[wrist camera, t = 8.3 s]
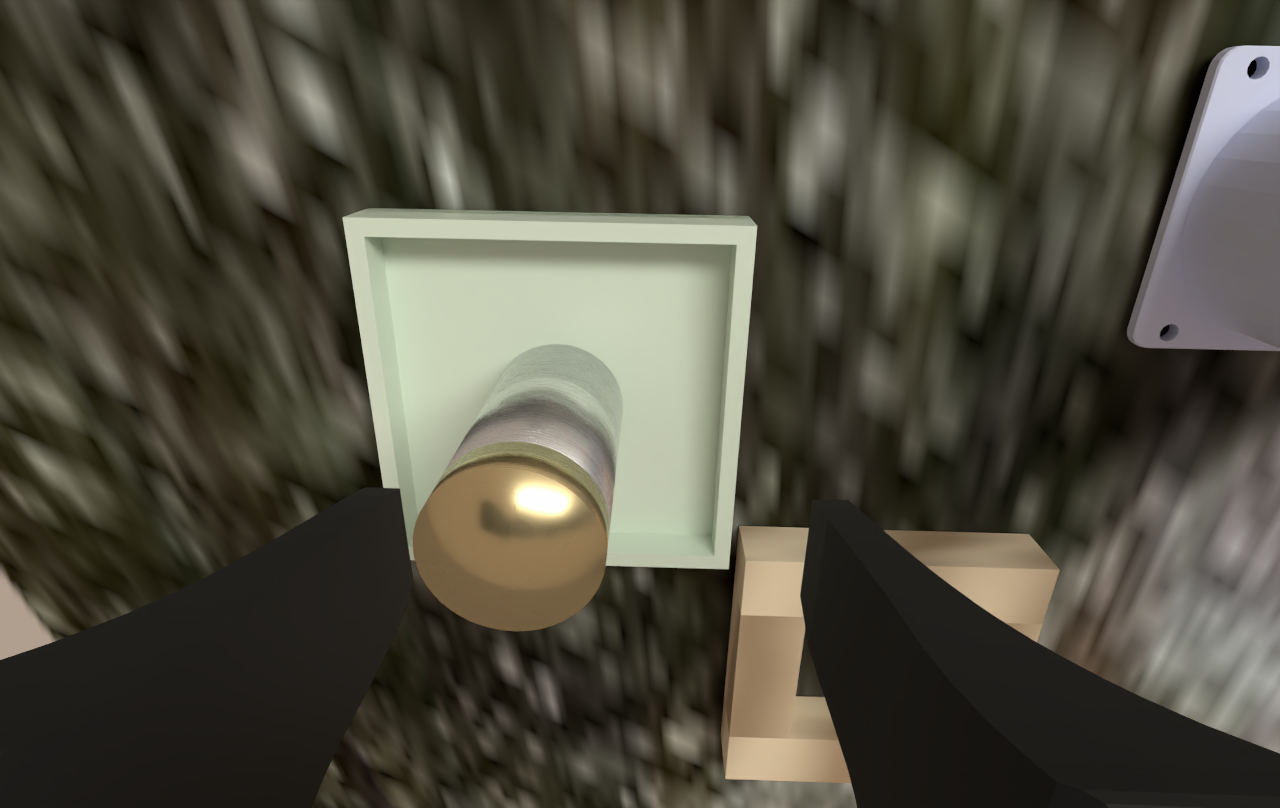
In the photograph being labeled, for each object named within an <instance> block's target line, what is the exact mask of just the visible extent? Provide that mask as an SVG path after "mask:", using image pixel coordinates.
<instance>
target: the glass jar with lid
mask: <svg viewBox="0 0 1280 808" xmlns="http://www.w3.org/2000/svg"><path fill="white" fill-rule="evenodd" d="M622 413H623V400H622V394H621V390H620V387H619V385H618V382H617V380H616V378H615V377H614V375H613V373H612V372H611V371H610V369H609V368H608V367H607V366H606V365H605V364H604V363H603V362H602V361H601V360H600V359H598V358H597V357H596V356H594V355H592V354H591V353H589V352H587V351H585V350H583V349H580V348H577V347H574V346H570V345H564V344H548V345H542V346H538V347H535V348H532V349H529V350H527V351H526V352H524V353H522V354H520V355H519V356H518V357H516V358H515V359H514V360H513V361H512V362H511V363H510V364H509V365H508V366H507V368H506V369H505V370H504V372H503V374H502V375H501V377H500V379H499V380H498V382H497V384H496V385H495V387H494V389H493V390H492V392H491V394H490V395H489V397H488V399H487V401H486V402H485V404H484V406H483V407H482V409H481V411H480V412H479V414H478V416H477V417H476V419H475V421H474V422H473V424H472V426H471V427H470V429H469V431H468V432H467V434H466V436H465V437H464V439H463V441H462V442H461V444H460V446H459V447H458V449H457V451H456V452H455V454H454V456H453V458H452V459H451V461H450V463H449V464H448V466H447V468H446V469H445V471H444V473H443V474H442V476H441V478H440V479H439V481H438V483H437V484H436V486H435V488H434V489H433V491H432V493H431V494H430V496H429V498H428V499H427V501H426V503H425V504H424V506H423V508H422V510H421V511H420V513H419V515H418V518H417V520H416V523H415V527H414V532H413V554H414V558H415V562H416V566H417V568H418V571H419V573H420V576H421V577H422V579H423V581H424V582H425V584H426V586H427V587H428V588H429V590H430V591H431V592H432V594H433V595H434V596H435V597H436V598H437V599H438V600H439V601H440V602H441V603H442V604H444V605H445V606H446V607H447V608H449V609H450V610H451V611H453V612H454V613H456V614H458V615H459V616H461V617H463V618H465V619H467V620H469V621H471V622H474V623H476V624H479V625H481V626H485V627H489V628H493V629H498V630H505V631H531V630H537V629H542V628H546V627H550V626H553V625H555V624H558V623H560V622H563V621H565V620H566V619H568V618H570V617H572V616H573V615H575V614H576V613H577V612H579V611H580V610H581V609H582V608H583V607H584V606H585V605H586V604H587V603H588V602H589V601H590V600H591V599H592V597H593V596H594V595H595V593H596V591H597V590H598V588H599V586H600V584H601V581H602V579H603V576H604V572H605V566H606V559H607V550H608V541H609V532H610V522H611V513H612V504H613V495H614V486H615V477H616V468H617V459H618V450H619V441H620V431H621V422H622Z"/></svg>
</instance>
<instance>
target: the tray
mask: <svg viewBox="0 0 1280 808" xmlns="http://www.w3.org/2000/svg"><path fill="white" fill-rule="evenodd" d="M343 223H344V230H345V237H346V243H347V250H348V256H349V263H350V270H351V276H352V283H353V290H354V296H355V303H356V309H357V316H358V323H359V329H360V336H361V343H362V349H363V356H364V362H365V369H366V376H367V382H368V389H369V396H370V402H371V409H372V415H373V422H374V429H375V435H376V442H377V449H378V455H379V462H380V468H381V475H382V482H383V488H400V493H401V500H402V507H403V513H404V520H405V527H406V534H407V541H408V548H409V555H410V560H415V558H414V554H413V532H414V527H415V523H416V520H417V518H418V515H419V513H420V511H421V510H422V508H423V506H424V504H425V503H426V501H427V499H428V498H429V496H430V494H431V493H432V491H433V489H434V488H435V486H436V484H437V483H438V481H439V479H440V478H441V476H442V474H443V473H444V471H445V469H446V468H447V466H448V464H449V463H450V461H451V459H452V458H453V456H454V454H455V452H456V451H457V449H458V447H459V446H460V444H461V442H462V441H463V439H464V437H465V436H466V434H467V432H468V431H469V429H470V427H471V426H472V424H473V422H474V421H475V419H476V417H477V416H478V414H479V412H480V411H481V409H482V407H483V406H484V404H485V402H486V401H487V399H488V397H489V395H490V394H491V392H492V390H493V389H494V387H495V385H496V384H497V382H498V380H499V379H500V377H501V375H502V374H503V372H504V370H505V369H506V368H507V366H508V365H509V364H510V363H511V362H512V361H513V360H514V359H515V358H516V357H518V356H519V355H520V354H522V353H524V352H526V351H527V350H529V349H532V348H535V347H538V346H542V345H548V344H564V345H570V346H574V347H577V348H580V349H583V350H585V351H587V352H589V353H591V354H592V355H594V356H596V357H597V358H598V359H600V360H601V361H602V362H603V363H604V364H605V365H606V366H607V367H608V368H609V369H610V371H611V372H612V373H613V375H614V377H615V378H616V380H617V382H618V385H619V387H620V390H621V394H622V400H623V413H622V422H621V431H620V441H619V450H618V459H617V468H616V477H615V486H614V495H613V504H612V513H611V522H610V532H609V541H608V550H607V559H606V566H633V567H667V568H702V569H729V559H730V547H731V535H732V523H733V511H734V499H735V487H736V475H737V463H738V451H739V439H740V427H741V415H742V403H743V391H744V379H745V367H746V355H747V343H748V331H749V319H750V307H751V295H752V283H753V271H754V259H755V247H756V235H757V225H756V224H755V223H754V222H753V220H752V219H751V218H750V217H749V216H722V215H675V214H627V213H579V212H532V211H484V210H437V209H389V208H368V209H365V210H362V211H359V212H356V213H353V214H350V215H348V216H345V217H343Z"/></svg>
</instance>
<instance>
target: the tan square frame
mask: <svg viewBox="0 0 1280 808" xmlns="http://www.w3.org/2000/svg"><path fill="white" fill-rule="evenodd" d="M808 531H809V528H795V527H759V526H739V534H738V545H737V556H736V568H735V579H734V591H733V602H732V613H731V625H730V636H729V648H728V659H727V670H726V682H725V693H724V704H723V716H722V727H721V741H722V751H723V761H724V771H725V779H744V780H774V781H804V782H833V783H851V780H850V776H849V772H848V769H847V766H846V762H845V759H844V756H843V753H842V750H841V747H840V744H839V740H838V737H837V734H836V731H835V728H834V725H833V722H832V719H831V715H830V712H829V709H828V706H827V703H826V700H825V697H803V696H796V690H797V683H798V676H799V669H800V662H801V655H802V648H803V641H804V634H805V622H804V616H803V610H802V604H801V598H800V592H801V584H802V577H803V569H804V561H805V554H806V546H807V539H808ZM884 531H885V532H886V533H887V534H888V535H890V536H891V537H892V538H893V539H894V540H895V541H897V542H898V543H899V544H900V545H901V546H902V547H904V548H905V549H906V550H907V551H908V552H910V553H911V554H912V555H913V556H914V557H916V558H917V559H918V560H919V561H920V562H922V563H923V564H924V565H925V566H927V567H928V568H929V569H930V570H932V571H933V572H934V573H936V574H937V575H938V576H939V577H941V578H942V579H943V580H945V581H946V582H947V583H949V584H950V585H951V586H953V587H954V588H955V589H957V590H958V591H959V592H961V593H962V594H964V595H965V596H966V597H968V598H969V599H970V600H972V601H973V602H974V603H976V604H977V605H979V606H980V607H982V608H983V609H985V610H986V611H988V612H989V613H991V614H992V615H994V616H995V617H997V618H998V619H1000V620H1001V621H1003V622H1005V623H1006V624H1008V625H1009V626H1011V627H1013V628H1014V629H1016V630H1017V631H1019V632H1021V633H1022V634H1024V635H1025V636H1027V637H1029V638H1030V639H1032V640H1033V641H1035V642H1037V641H1038V637H1039V634H1040V631H1041V628H1042V625H1043V622H1044V618H1045V615H1046V612H1047V609H1048V606H1049V603H1050V599H1051V596H1052V593H1053V590H1054V587H1055V584H1056V580H1057V577H1058V574H1059V571H1060V569H1059V568H1058V567H1057V566H1056V565H1055V564H1054V562H1053V561H1052V560H1051V559H1050V558H1049V557H1048V555H1047V554H1046V553H1045V552H1044V551H1043V550H1042V549H1041V547H1040V546H1039V545H1038V544H1037V543H1036V542H1035V540H1034V539H1033V538H1032V537H1031V536H1030V535H1029V534H1011V533H975V532H939V531H903V530H884Z"/></svg>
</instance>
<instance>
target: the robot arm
mask: <svg viewBox="0 0 1280 808" xmlns="http://www.w3.org/2000/svg"><path fill="white" fill-rule="evenodd" d="M1254 59H1255V60H1256V62H1257V69H1256V71H1255V73H1254V74H1253V75H1252V76H1251V77H1250V78H1249V76H1248V75H1247V68H1248V66H1249V64H1250V63H1251V62H1252V61H1253V60H1254ZM1166 325H1169V330H1168V332H1167V333H1166V334H1165V335H1163V336H1161V337H1160V332H1161V330H1162V328H1163V327H1165V326H1166ZM1127 336H1128V339H1129V340H1130V341H1131V342H1132V343H1134V344H1136V345H1138V346H1140V347H1144V348H1172V349H1214V350H1256V351H1280V46H1236V47H1230V48H1226V49H1224V50H1223V51H1221V52H1219V53H1218V54H1217V55H1216V56H1215V57H1214V59H1213V60H1212V62H1211V64H1210V66H1209V68H1208V71H1207V74H1206V77H1205V80H1204V83H1203V87H1202V90H1201V93H1200V96H1199V100H1198V103H1197V106H1196V109H1195V112H1194V116H1193V119H1192V122H1191V125H1190V129H1189V132H1188V135H1187V138H1186V141H1185V145H1184V148H1183V151H1182V154H1181V157H1180V161H1179V164H1178V167H1177V170H1176V174H1175V177H1174V180H1173V183H1172V186H1171V190H1170V193H1169V196H1168V199H1167V203H1166V206H1165V209H1164V212H1163V215H1162V219H1161V222H1160V225H1159V228H1158V231H1157V235H1156V238H1155V241H1154V244H1153V248H1152V251H1151V254H1150V257H1149V260H1148V264H1147V267H1146V270H1145V273H1144V277H1143V280H1142V283H1141V286H1140V289H1139V293H1138V296H1137V299H1136V302H1135V306H1134V309H1133V312H1132V315H1131V318H1130V322H1129V325H1128V328H1127ZM413 584H414V582H413V575H412V568H411V562H410V555H409V548H408V541H407V534H406V527H405V520H404V513H403V507H402V500H401V493H400V488H364V489H361V490H359V491H357V492H355V493H353V494H351V495H350V496H348V497H346V498H344V499H342V500H341V501H339V502H337V503H335V504H334V505H332V506H330V507H329V508H327V509H325V510H324V511H322V512H320V513H319V514H317V515H315V516H314V517H312V518H310V519H309V520H307V521H305V522H303V523H302V524H300V525H298V526H297V527H295V528H293V529H292V530H290V531H288V532H287V533H285V534H283V535H282V536H280V537H278V538H276V539H275V540H273V541H271V542H270V543H268V544H266V545H264V546H263V547H261V548H259V549H257V550H255V551H253V552H252V553H250V554H248V555H246V556H244V557H242V558H241V559H239V560H237V561H235V562H233V563H231V564H230V565H228V566H226V567H224V568H222V569H220V570H219V571H217V572H215V573H213V574H211V575H209V576H207V577H205V578H203V579H201V580H199V581H198V582H196V583H193V584H191V585H189V586H187V587H185V588H183V589H181V590H179V591H177V592H175V593H173V594H170V595H168V596H166V597H164V598H161V599H159V600H157V601H155V602H153V603H150V604H148V605H146V606H144V607H142V608H139V609H137V610H135V611H132V612H130V613H127V614H125V615H122V616H120V617H117V618H115V619H112V620H110V621H107V622H104V623H102V624H99V625H97V626H94V627H91V628H89V629H86V630H84V631H81V632H79V633H76V634H73V635H71V636H68V637H66V638H63V639H60V640H58V641H55V642H52V643H50V644H47V645H44V646H41V647H38V648H35V649H33V650H30V651H26V652H23V653H20V654H18V655H15V656H11V657H8V658H6V659H2V660H0V808H312V805H313V803H314V800H315V798H316V795H317V793H318V790H319V788H320V785H321V783H322V780H323V778H324V775H325V773H326V771H327V769H328V767H329V765H330V763H331V760H332V758H333V756H334V754H335V752H336V750H337V748H338V746H339V744H340V742H341V740H342V738H343V736H344V734H345V732H346V731H347V729H348V727H349V725H350V723H351V721H352V719H353V717H354V715H355V713H356V711H357V709H358V708H359V706H360V704H361V702H362V700H363V698H364V696H365V694H366V692H367V690H368V688H369V686H370V685H371V683H372V681H373V679H374V677H375V675H376V673H377V671H378V669H379V667H380V665H381V663H382V661H383V659H384V657H385V655H386V653H387V651H388V650H389V648H390V646H391V644H392V641H393V639H394V637H395V635H396V633H397V630H398V628H399V625H400V622H401V620H402V617H403V614H404V611H405V608H406V605H407V602H408V599H409V596H410V593H411V590H412V587H413ZM800 598H801V604H802V610H803V616H804V622H805V628H806V633H807V638H808V644H809V648H810V652H811V655H812V658H813V662H814V665H815V668H816V671H817V675H818V678H819V681H820V684H821V687H822V690H823V694H824V697H825V700H826V703H827V706H828V709H829V712H830V715H831V719H832V722H833V725H834V728H835V731H836V734H837V737H838V740H839V744H840V747H841V750H842V753H843V756H844V759H845V762H846V766H847V769H848V772H849V776H850V780H851V783H852V787H853V791H854V794H855V799H856V803H857V808H1280V754H1279V753H1276V752H1274V751H1271V750H1269V749H1266V748H1263V747H1261V746H1258V745H1256V744H1253V743H1250V742H1248V741H1245V740H1243V739H1240V738H1237V737H1235V736H1232V735H1229V734H1227V733H1224V732H1222V731H1219V730H1216V729H1214V728H1211V727H1209V726H1206V725H1204V724H1201V723H1199V722H1197V721H1194V720H1192V719H1190V718H1187V717H1185V716H1183V715H1181V714H1178V713H1176V712H1174V711H1172V710H1169V709H1167V708H1165V707H1163V706H1160V705H1158V704H1156V703H1154V702H1151V701H1149V700H1147V699H1145V698H1142V697H1140V696H1138V695H1136V694H1134V693H1132V692H1130V691H1128V690H1126V689H1124V688H1121V687H1119V686H1117V685H1115V684H1113V683H1111V682H1109V681H1107V680H1105V679H1103V678H1101V677H1099V676H1097V675H1095V674H1094V673H1092V672H1090V671H1088V670H1086V669H1084V668H1082V667H1080V666H1078V665H1077V664H1075V663H1073V662H1071V661H1069V660H1067V659H1065V658H1063V657H1061V656H1060V655H1058V654H1056V653H1054V652H1053V651H1051V650H1049V649H1047V648H1046V647H1044V646H1042V645H1040V644H1039V643H1037V642H1035V641H1033V640H1032V639H1030V638H1029V637H1027V636H1025V635H1024V634H1022V633H1021V632H1019V631H1017V630H1016V629H1014V628H1013V627H1011V626H1009V625H1008V624H1006V623H1005V622H1003V621H1001V620H1000V619H998V618H997V617H995V616H994V615H992V614H991V613H989V612H988V611H986V610H985V609H983V608H982V607H980V606H979V605H977V604H976V603H974V602H973V601H972V600H970V599H969V598H968V597H966V596H965V595H964V594H962V593H961V592H959V591H958V590H957V589H955V588H954V587H953V586H951V585H950V584H949V583H947V582H946V581H945V580H943V579H942V578H941V577H939V576H938V575H937V574H936V573H934V572H933V571H932V570H930V569H929V568H928V567H927V566H925V565H924V564H923V563H922V562H920V561H919V560H918V559H917V558H916V557H914V556H913V555H912V554H911V553H910V552H908V551H907V550H906V549H905V548H904V547H902V546H901V545H900V544H899V543H898V542H897V541H895V540H894V539H893V538H892V537H891V536H890V535H888V534H887V533H886V532H885V531H884V530H883V529H881V528H880V527H879V526H878V525H877V524H876V523H875V522H873V521H872V520H871V519H870V518H869V517H868V516H867V515H865V514H864V513H863V512H862V511H861V510H859V509H858V508H857V507H856V506H855V505H853V504H852V503H851V502H849V501H845V500H812V508H811V516H810V523H809V531H808V539H807V546H806V554H805V561H804V569H803V577H802V584H801V592H800Z"/></svg>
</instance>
